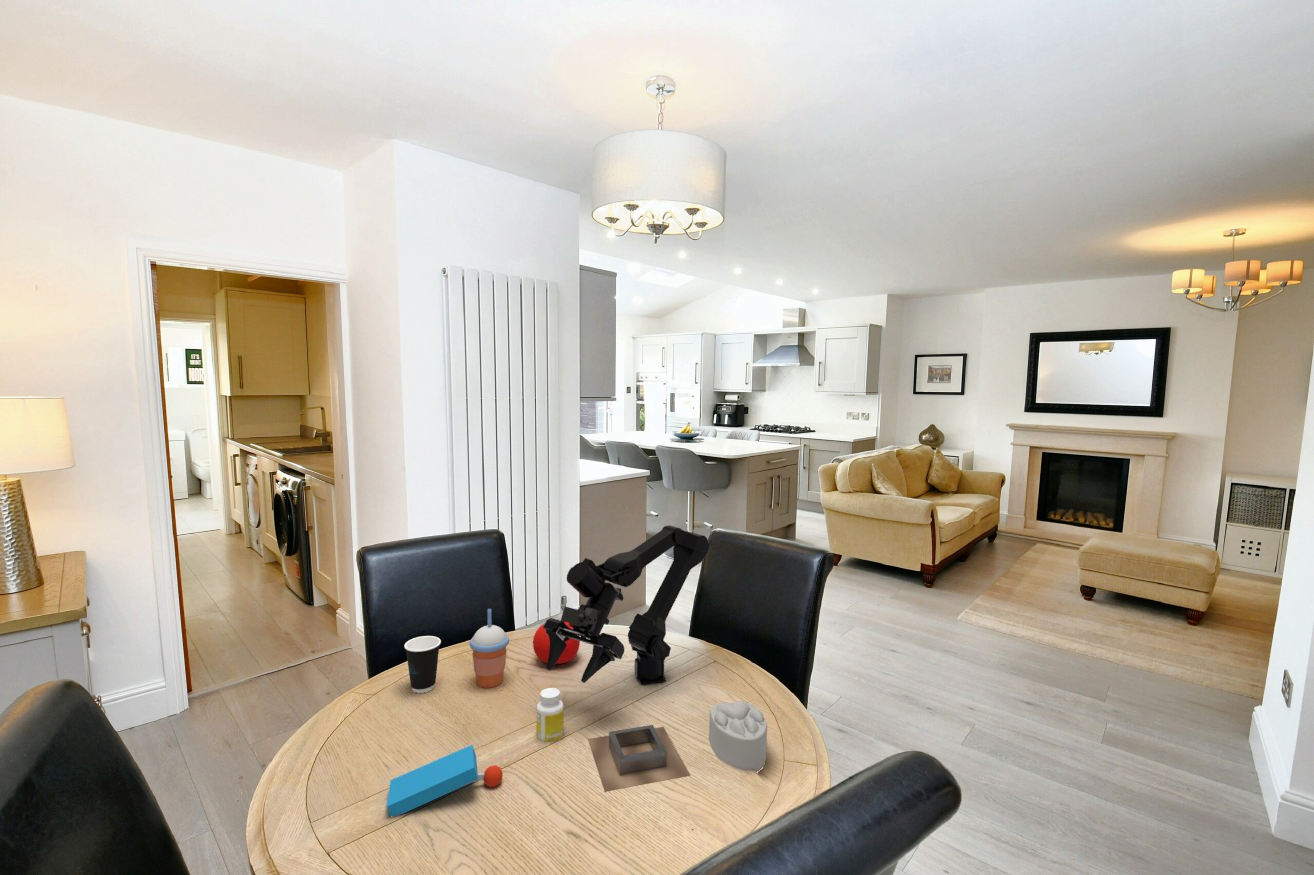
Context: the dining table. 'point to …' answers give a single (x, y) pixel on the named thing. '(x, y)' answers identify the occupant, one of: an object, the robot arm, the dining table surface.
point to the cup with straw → (489, 654)
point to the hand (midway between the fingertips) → (565, 675)
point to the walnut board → (616, 781)
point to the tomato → (543, 646)
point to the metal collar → (637, 760)
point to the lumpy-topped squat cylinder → (738, 735)
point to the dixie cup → (422, 662)
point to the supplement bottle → (549, 715)
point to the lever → (438, 780)
